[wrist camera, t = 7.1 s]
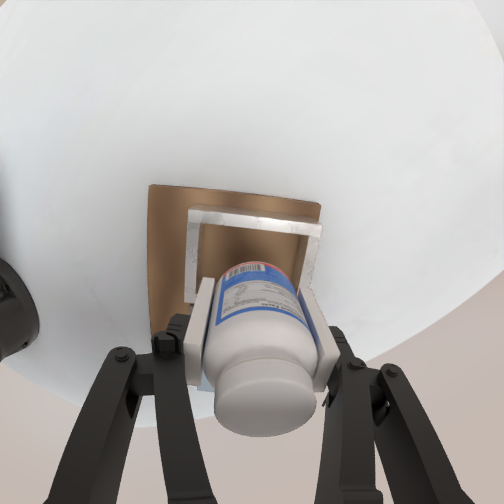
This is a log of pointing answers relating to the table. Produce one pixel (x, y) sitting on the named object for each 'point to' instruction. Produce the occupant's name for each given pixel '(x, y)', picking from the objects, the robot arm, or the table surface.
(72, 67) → the table surface
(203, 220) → the socket
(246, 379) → the pill bottle
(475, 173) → the table surface
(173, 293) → the board
